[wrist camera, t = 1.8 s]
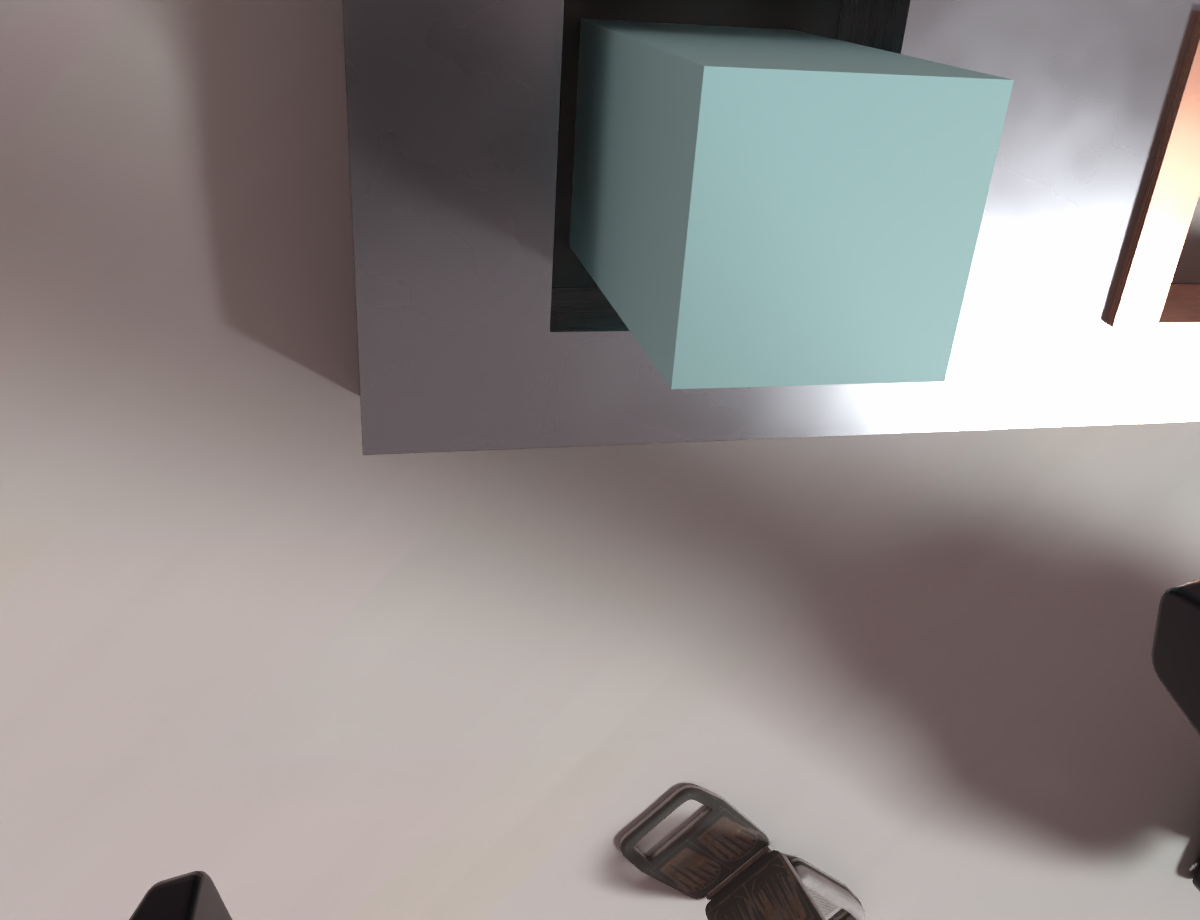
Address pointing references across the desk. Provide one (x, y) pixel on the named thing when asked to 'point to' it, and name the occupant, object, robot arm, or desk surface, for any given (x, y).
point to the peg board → (663, 415)
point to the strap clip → (736, 866)
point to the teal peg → (779, 200)
